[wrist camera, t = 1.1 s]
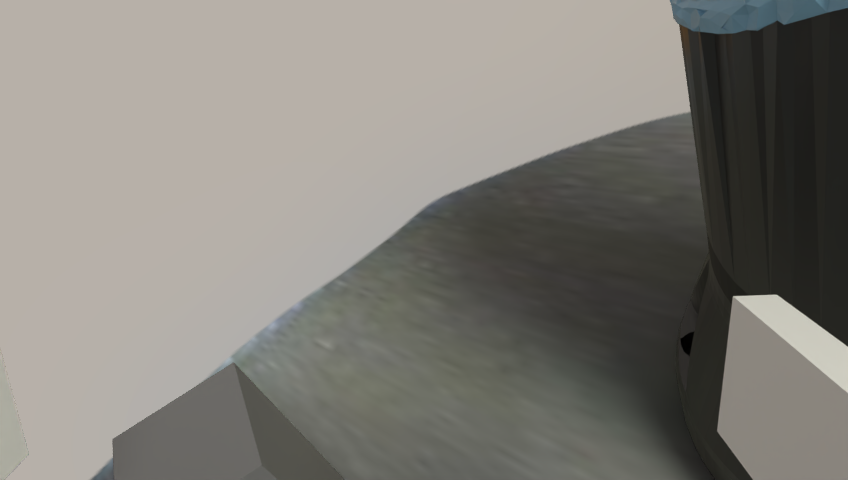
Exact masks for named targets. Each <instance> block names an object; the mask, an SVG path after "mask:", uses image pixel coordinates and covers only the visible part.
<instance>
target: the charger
mask: <svg viewBox="0 0 848 480" xmlns="http://www.w3.org/2000/svg"><path fill="white" fill-rule="evenodd" d="M113 467H114V480H344V479H343V477H342V476H341V475H340V474H339V473H338V472H337V471H336V470H335V469H334V468H333V467H332V466H331V465H330V464H329V463H328V462H327V461H326V459H325V458H324V457H323V456H322V455H321V454H320V453H319V452H318V451H317V450H316V449H315V448H314V447H313V446H312V445H311V444H310V443H309V441H308V440H307V439H306V438H305V437H304V436H303V435H302V434H301V433H300V432H299V431H298V430H297V429H296V428H295V427H294V426H293V425H292V424H291V422H290V421H289V420H288V419H287V418H286V417H285V416H284V415H283V414H282V413H281V412H280V411H279V410H278V409H277V408H276V407H275V406H274V404H273V403H272V402H271V401H270V400H269V399H268V398H267V397H266V396H265V395H264V394H263V393H262V392H261V391H260V390H259V389H258V388H257V387H256V385H255V384H254V383H253V382H252V381H251V380H250V379H249V378H248V377H247V376H246V375H245V374H244V373H243V372H242V371H241V370H240V369H239V367H238V366H237V365H236V364H235V363H232V364H231V365H229V366H227V367H226V368H224V369H223V370H221V371H219V372H218V373H216V374H215V375H213V376H212V377H210V378H208V379H207V380H205V381H204V382H202V383H201V384H199V385H197V386H196V387H194V388H193V389H191V390H189V391H188V392H186V393H185V394H183V395H182V396H180V397H178V398H177V399H175V400H174V401H172V402H171V403H169V404H167V405H166V406H164V407H163V408H161V409H160V410H158V411H156V412H155V413H153V414H152V415H150V416H148V417H147V418H145V419H144V420H142V421H141V422H139V423H137V424H136V425H134V426H133V427H131V428H129V429H128V430H126V431H125V432H123V433H122V434H120V435H119V436H117V437H116V438H114V439H113Z"/></svg>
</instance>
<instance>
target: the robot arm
mask: <svg viewBox="0 0 848 480" xmlns="http://www.w3.org/2000/svg"><path fill="white" fill-rule="evenodd" d="M670 2H671V5H672V11H673V16H674V19H675V20H676V22H677V23H678V24H679V26H680V33H681V41H682V48H683V56H684V64H685V71H686V79H687V86H688V93H689V101H690V109H691V116H692V124H693V132H694V139H695V147H696V154H697V162H698V169H699V177H700V184H701V192H702V199H703V207H704V215H705V222H706V228H707V235H708V245H709V253H708V255H707V258H706V260H705V263H704V265H703V268H702V270H701V273H700V275H699V278H698V281H697V283H696V286H695V288H694V291H693V293H692V296H691V300H690V302H689V304H688V306H687V308H686V311H685V314H684V317H683V319H682V322H681V326H680V330H679V334H678V340H677V349H676V374H677V382H678V387H679V392H680V397H681V402H682V407H683V412H684V417H685V420H686V424H687V427H688V430H689V433H690V435H691V438H692V440H693V443H694V445H695V447H696V449H697V451H698V453H699V455H700V456H701V458H702V460H703V462H704V463H705V465H706V467H707V468H708V470H709V471H710V472H711V474H712V475H713V477H714V478H715V480H848V0H670ZM28 455H29V453H28V449H27V445H26V441H25V438H24V434H23V430H22V427H21V423H20V420H19V416H18V412H17V408H16V405H15V401H14V397H13V394H12V390H11V386H10V383H9V379H8V376H7V372H6V368H5V364H4V361H3V357H2V353H1V350H0V480H5V479H6V478H7V477H8V476H9V475H10V474H11V473H12V472H13V471H14V470H15V468H16V467H17V466H18V465H19V464H20V463H21V462H22V461H23V460H24V459H25V458H26V457H27V456H28Z"/></svg>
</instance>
